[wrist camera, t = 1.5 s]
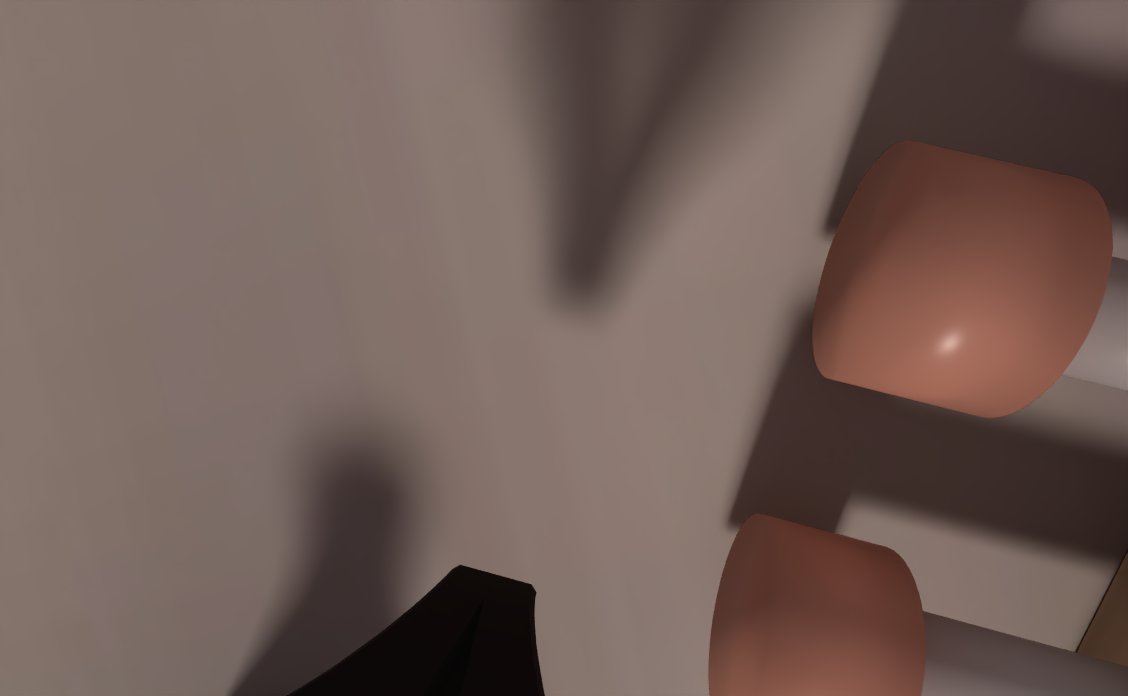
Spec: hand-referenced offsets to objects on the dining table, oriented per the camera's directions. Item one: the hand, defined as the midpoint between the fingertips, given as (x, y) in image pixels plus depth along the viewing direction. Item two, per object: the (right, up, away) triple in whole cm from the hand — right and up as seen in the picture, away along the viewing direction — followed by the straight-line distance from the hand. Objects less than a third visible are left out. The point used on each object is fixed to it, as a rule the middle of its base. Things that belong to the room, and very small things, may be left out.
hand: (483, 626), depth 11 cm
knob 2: (+9, -1, +4) cm, 10 cm away
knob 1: (+11, +5, +2) cm, 12 cm away
